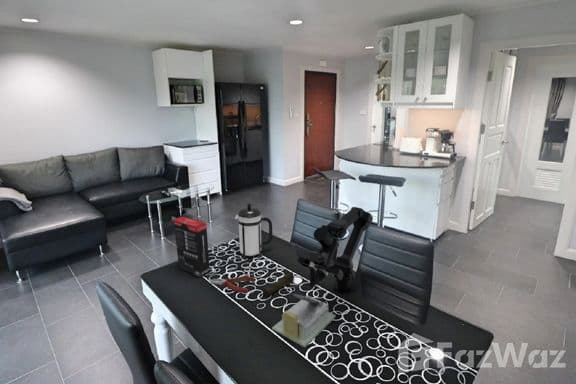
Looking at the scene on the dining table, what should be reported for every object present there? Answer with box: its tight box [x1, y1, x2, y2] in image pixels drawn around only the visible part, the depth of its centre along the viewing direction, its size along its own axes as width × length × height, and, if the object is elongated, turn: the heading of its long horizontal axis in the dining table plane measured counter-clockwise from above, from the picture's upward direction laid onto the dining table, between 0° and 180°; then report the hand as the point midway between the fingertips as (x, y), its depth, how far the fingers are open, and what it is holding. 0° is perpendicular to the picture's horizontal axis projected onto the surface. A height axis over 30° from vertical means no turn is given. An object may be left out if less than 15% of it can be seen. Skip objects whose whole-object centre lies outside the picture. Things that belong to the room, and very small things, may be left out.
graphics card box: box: [173, 216, 211, 278], centre depth 157 cm, size 17×7×27 cm, turn 58°
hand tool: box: [262, 272, 295, 298], centre depth 145 cm, size 19×4×5 cm, turn 135°
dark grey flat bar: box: [292, 293, 319, 304], centre depth 120 cm, size 14×4×1 cm
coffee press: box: [234, 203, 273, 260], centre depth 175 cm, size 17×16×30 cm
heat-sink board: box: [271, 294, 336, 349], centre depth 120 cm, size 21×15×9 cm
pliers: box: [209, 276, 255, 294], centre depth 148 cm, size 12×20×3 cm, turn 78°
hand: (310, 287), depth 121 cm, fingers closed
